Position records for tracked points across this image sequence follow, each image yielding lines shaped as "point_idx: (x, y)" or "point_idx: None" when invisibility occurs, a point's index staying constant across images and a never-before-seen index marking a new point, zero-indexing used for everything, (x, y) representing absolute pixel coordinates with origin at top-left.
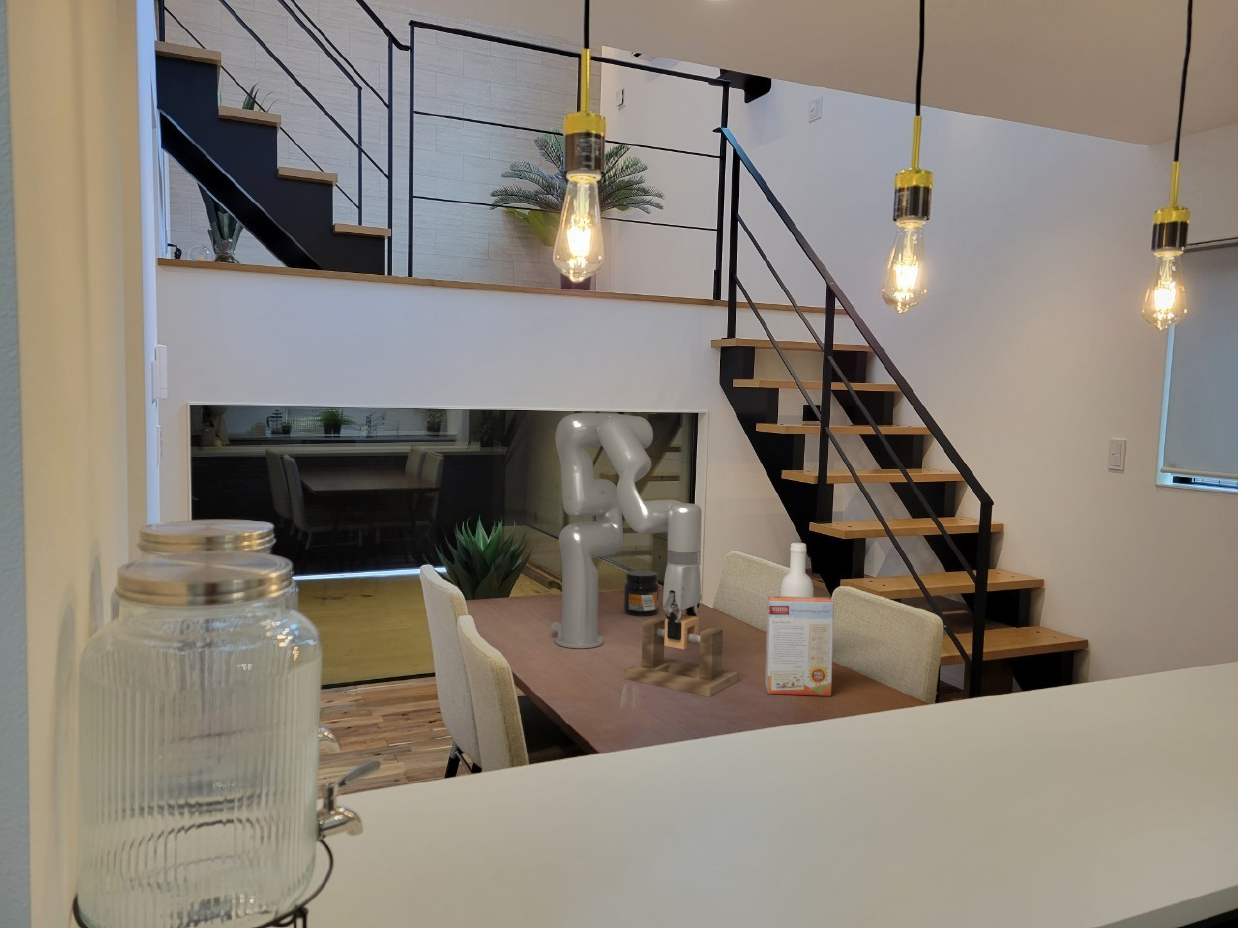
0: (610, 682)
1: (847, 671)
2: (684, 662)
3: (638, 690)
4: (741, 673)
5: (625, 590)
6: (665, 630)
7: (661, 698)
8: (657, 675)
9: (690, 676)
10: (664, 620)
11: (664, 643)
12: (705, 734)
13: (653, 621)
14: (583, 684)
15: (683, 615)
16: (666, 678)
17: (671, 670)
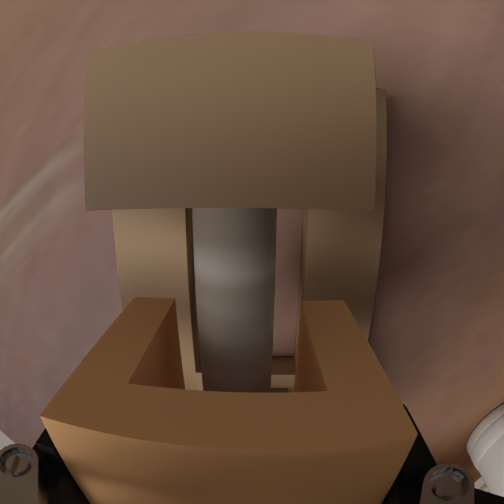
0: (66, 95)
1: (474, 482)
2: (373, 248)
3: (55, 222)
4: (414, 392)
5: None
6: (92, 356)
7: (52, 316)
8: (129, 247)
9: (298, 299)
10: (361, 210)
11: (131, 301)
12: (11, 437)
13: (195, 126)
14: (20, 57)
15: (355, 486)
16: (122, 295)
17: (303, 214)
